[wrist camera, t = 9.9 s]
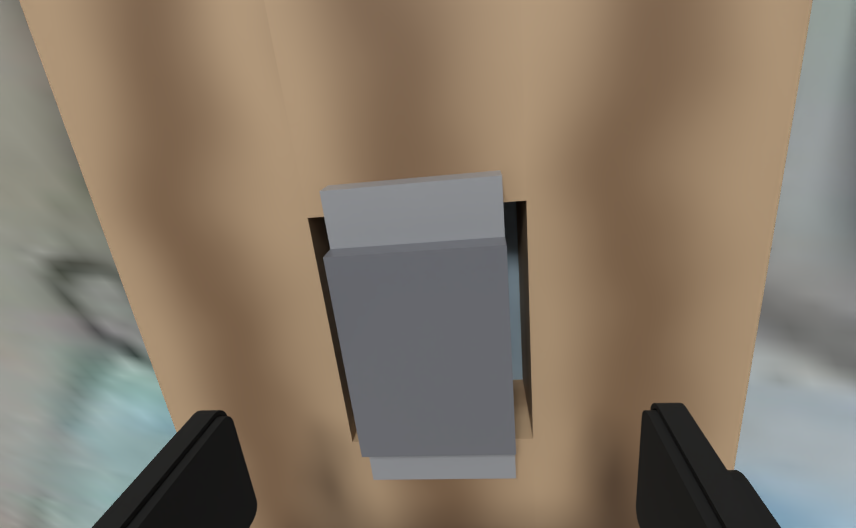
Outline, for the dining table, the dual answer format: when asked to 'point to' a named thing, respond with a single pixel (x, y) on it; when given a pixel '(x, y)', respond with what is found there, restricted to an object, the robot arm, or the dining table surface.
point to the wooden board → (434, 156)
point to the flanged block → (425, 323)
